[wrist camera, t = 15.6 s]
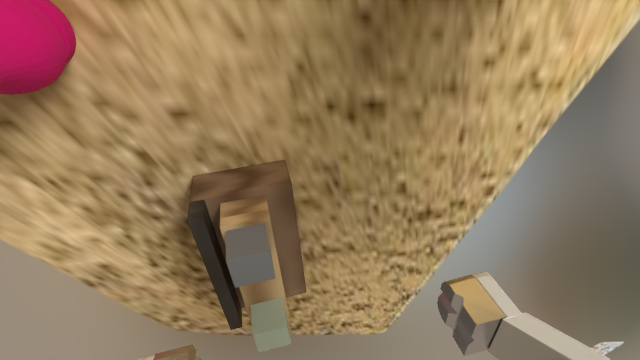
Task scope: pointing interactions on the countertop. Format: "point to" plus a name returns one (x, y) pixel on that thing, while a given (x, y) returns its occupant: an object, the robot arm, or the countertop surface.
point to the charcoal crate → (249, 255)
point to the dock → (210, 240)
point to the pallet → (258, 213)
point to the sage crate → (270, 325)
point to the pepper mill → (32, 45)
